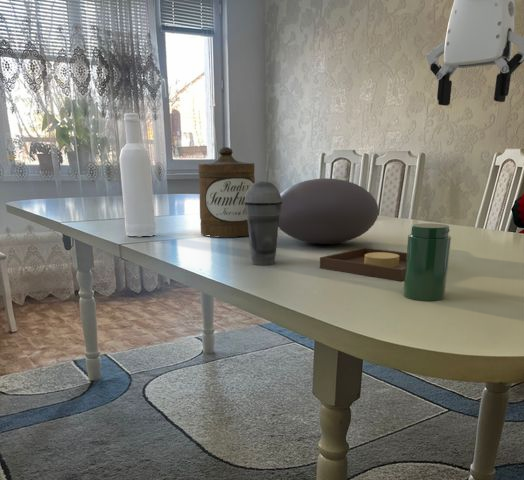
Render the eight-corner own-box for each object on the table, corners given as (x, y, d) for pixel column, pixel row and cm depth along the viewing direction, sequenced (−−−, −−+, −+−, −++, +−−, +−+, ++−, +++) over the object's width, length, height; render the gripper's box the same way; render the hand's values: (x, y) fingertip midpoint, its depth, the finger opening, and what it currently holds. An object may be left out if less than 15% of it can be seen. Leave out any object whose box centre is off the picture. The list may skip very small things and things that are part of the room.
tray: (441, 267, 102) (442, 257, 101) (401, 281, 92) (402, 269, 91) (363, 257, 113) (364, 247, 112) (319, 267, 103) (319, 257, 102)
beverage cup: (252, 258, 112) (251, 156, 105) (286, 260, 110) (287, 155, 103) (239, 265, 105) (237, 156, 99) (275, 267, 103) (275, 156, 96)
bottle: (122, 237, 141) (110, 112, 131) (130, 233, 149) (119, 114, 139) (152, 237, 141) (143, 112, 131) (159, 233, 149) (150, 114, 138)
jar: (450, 295, 83) (458, 224, 79) (434, 303, 78) (442, 229, 75) (413, 289, 86) (419, 222, 83) (396, 296, 82) (402, 226, 78)
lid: (376, 260, 107) (377, 251, 106) (405, 264, 103) (406, 255, 102) (357, 264, 103) (357, 255, 102) (386, 269, 98) (387, 259, 98)
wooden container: (211, 239, 137) (207, 146, 130) (194, 232, 150) (189, 147, 143) (264, 235, 143) (264, 146, 135) (243, 229, 156) (242, 147, 148)
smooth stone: (377, 253, 117) (382, 181, 112) (263, 250, 121) (263, 180, 116) (375, 236, 140) (379, 176, 135) (280, 234, 144) (280, 176, 139)
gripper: (549, -21, 84) (531, 101, 89) (443, 0, 95) (433, 107, 101) (533, -32, 78) (515, 98, 84) (422, -8, 90) (413, 105, 95)
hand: (470, 103), depth 92 cm, fingers open, 9 cm apart
